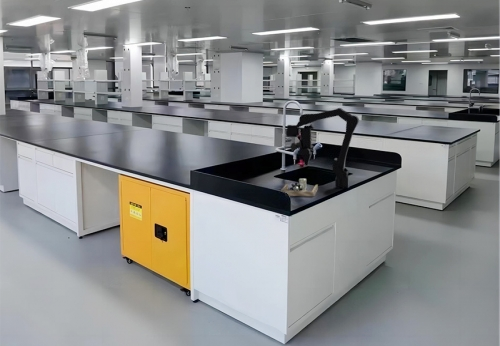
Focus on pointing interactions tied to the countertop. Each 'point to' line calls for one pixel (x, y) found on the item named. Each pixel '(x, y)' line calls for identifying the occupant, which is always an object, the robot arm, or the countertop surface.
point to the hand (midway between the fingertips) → (306, 165)
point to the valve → (299, 185)
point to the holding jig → (299, 193)
